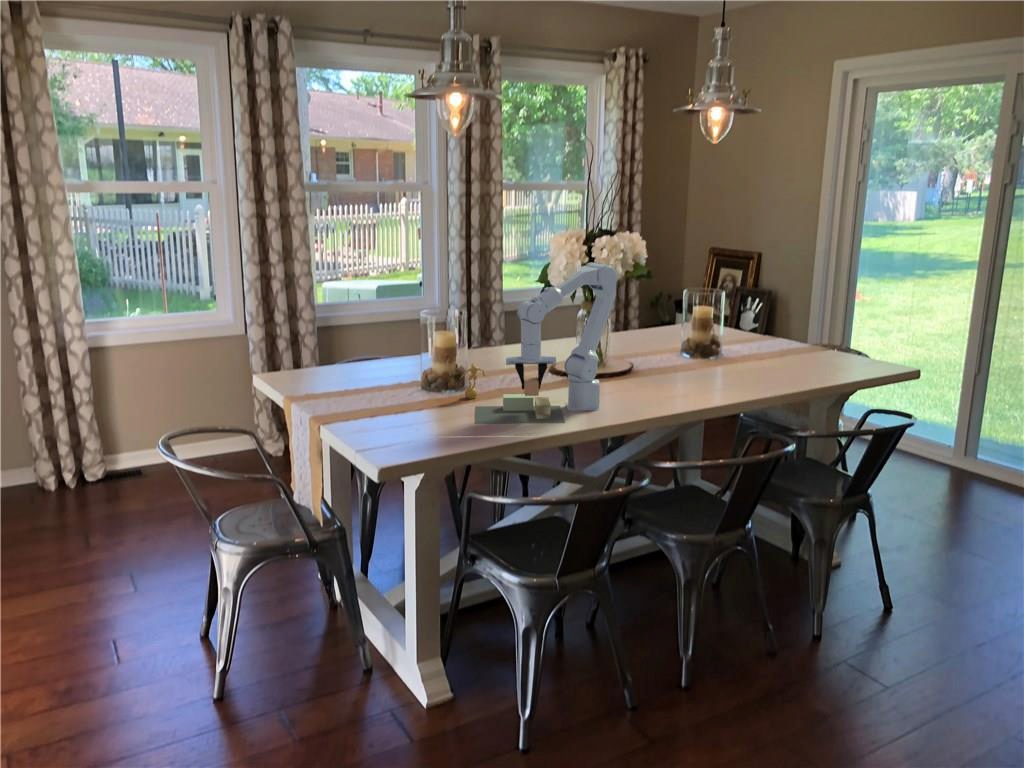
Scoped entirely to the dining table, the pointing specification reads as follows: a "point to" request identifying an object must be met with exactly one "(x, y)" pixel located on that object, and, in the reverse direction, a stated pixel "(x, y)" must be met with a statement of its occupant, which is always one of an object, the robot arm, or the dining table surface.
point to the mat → (514, 415)
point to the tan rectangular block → (531, 385)
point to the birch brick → (542, 407)
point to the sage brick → (517, 402)
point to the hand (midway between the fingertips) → (531, 388)
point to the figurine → (470, 391)
